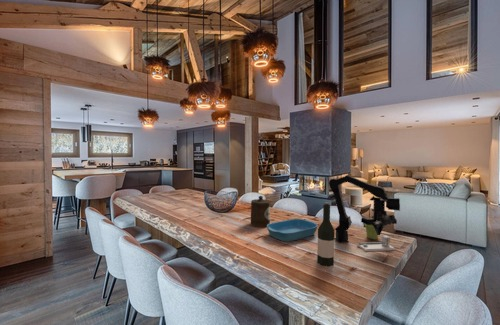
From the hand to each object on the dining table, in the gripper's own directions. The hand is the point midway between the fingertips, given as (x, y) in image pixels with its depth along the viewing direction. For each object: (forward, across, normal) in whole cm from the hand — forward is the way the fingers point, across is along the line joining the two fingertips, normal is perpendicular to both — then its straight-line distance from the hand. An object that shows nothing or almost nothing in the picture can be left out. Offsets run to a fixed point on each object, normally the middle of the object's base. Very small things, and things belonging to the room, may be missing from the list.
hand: (378, 235), depth 136 cm
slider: (+6, +5, 0) cm, 8 cm away
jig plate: (+8, -2, 0) cm, 8 cm away
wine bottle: (+8, -39, -15) cm, 43 cm away
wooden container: (+7, -61, +52) cm, 80 cm away
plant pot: (+8, +7, +16) cm, 20 cm away
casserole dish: (+7, -44, +27) cm, 52 cm away
